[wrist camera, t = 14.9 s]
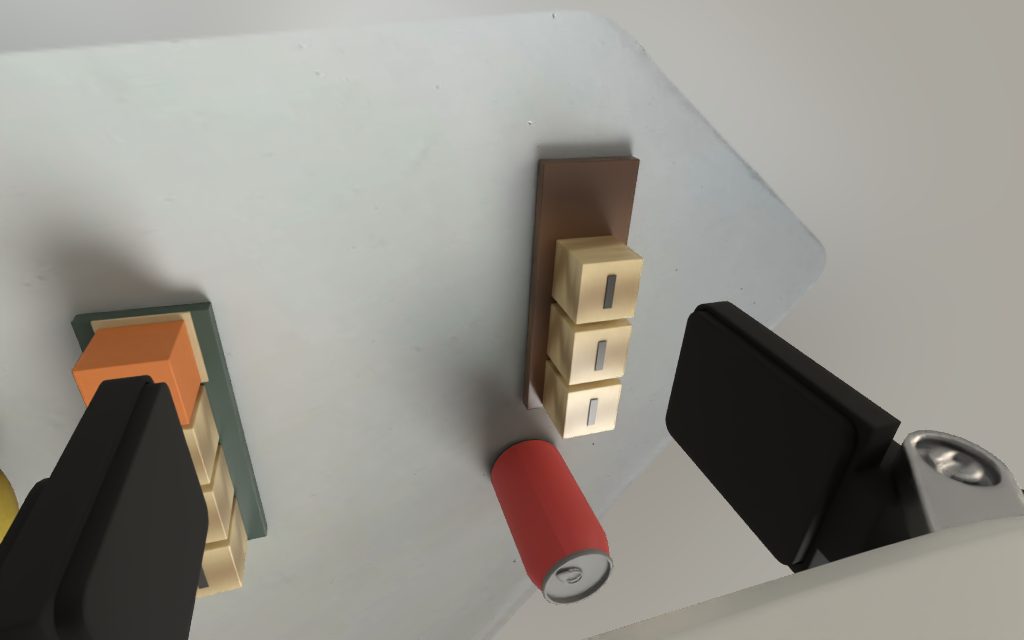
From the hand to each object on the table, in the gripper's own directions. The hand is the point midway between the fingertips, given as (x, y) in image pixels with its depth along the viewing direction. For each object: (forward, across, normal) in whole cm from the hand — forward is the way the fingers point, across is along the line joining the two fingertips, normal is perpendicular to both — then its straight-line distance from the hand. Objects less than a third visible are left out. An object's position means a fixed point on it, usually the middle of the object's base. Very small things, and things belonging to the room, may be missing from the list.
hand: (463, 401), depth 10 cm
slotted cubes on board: (+26, -15, +12) cm, 33 cm away
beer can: (+26, -12, +29) cm, 41 cm away
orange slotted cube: (+25, +13, +13) cm, 31 cm away
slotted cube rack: (+26, +13, +20) cm, 36 cm away
